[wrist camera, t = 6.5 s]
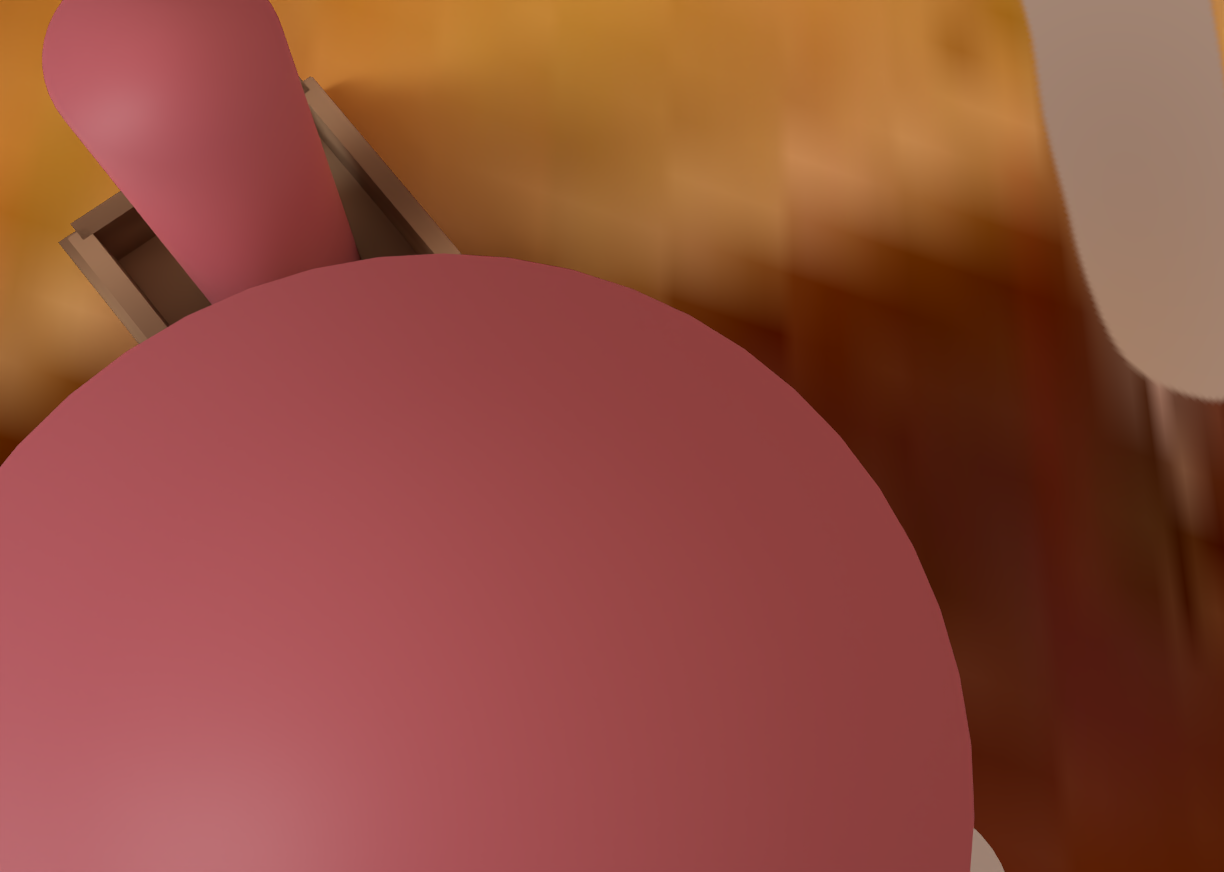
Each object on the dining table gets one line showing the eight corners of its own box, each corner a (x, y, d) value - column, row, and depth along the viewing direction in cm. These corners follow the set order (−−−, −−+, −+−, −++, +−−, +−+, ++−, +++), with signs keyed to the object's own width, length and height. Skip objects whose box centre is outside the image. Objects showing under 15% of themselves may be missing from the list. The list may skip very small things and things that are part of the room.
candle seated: (182, 268, 31) (-6, 32, 20) (304, 184, 32) (194, -89, 21) (273, 380, 31) (135, 208, 19) (394, 292, 32) (333, 76, 20)
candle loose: (285, 683, 16) (-373, 690, 4) (519, 500, 17) (531, 78, 5) (468, 927, 15) (317, 1740, 4) (699, 724, 16) (1185, 835, 4)
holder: (71, 255, 32) (28, 214, 29) (315, 93, 34) (298, 39, 31) (577, 891, 30) (586, 916, 27) (808, 679, 32) (840, 681, 29)
